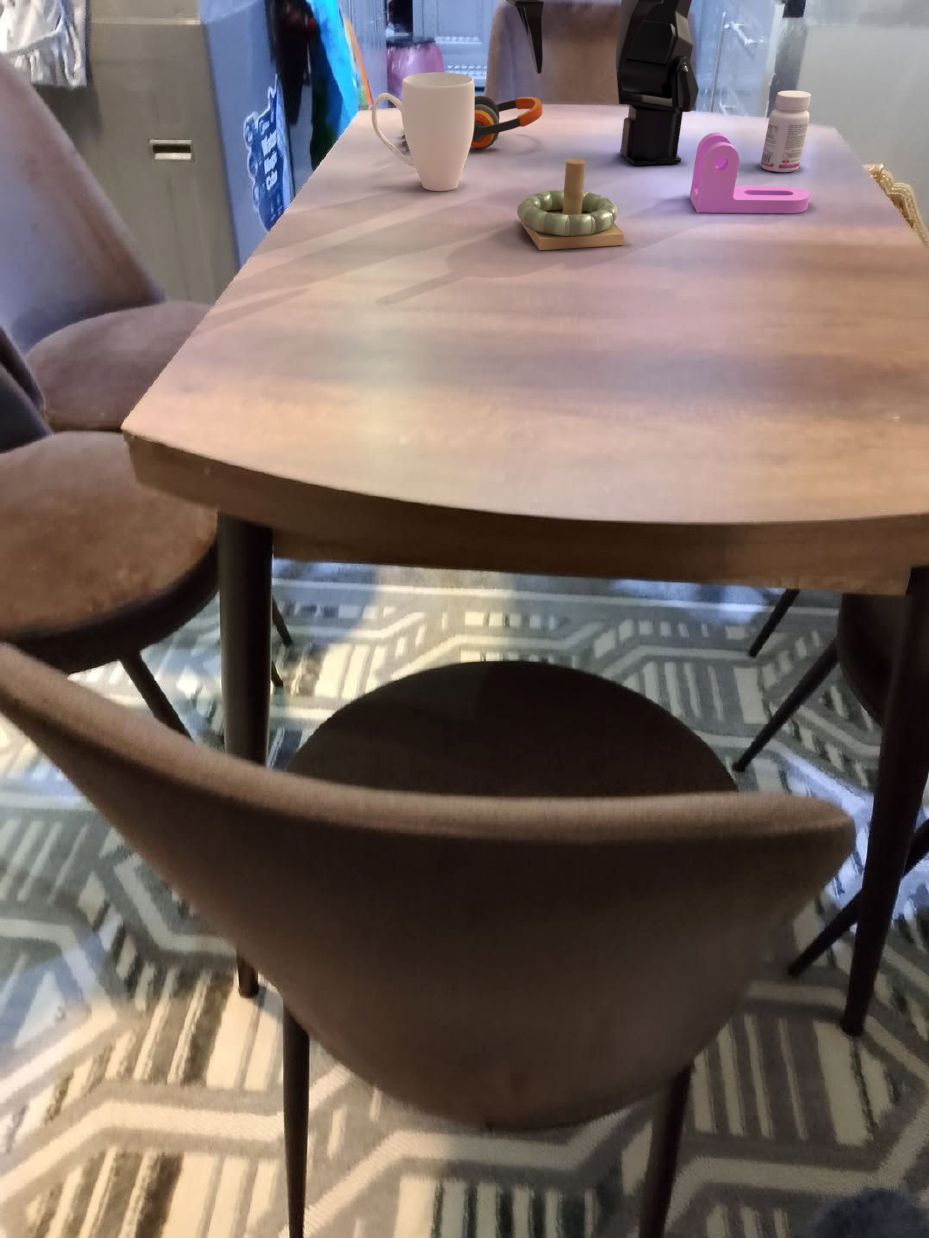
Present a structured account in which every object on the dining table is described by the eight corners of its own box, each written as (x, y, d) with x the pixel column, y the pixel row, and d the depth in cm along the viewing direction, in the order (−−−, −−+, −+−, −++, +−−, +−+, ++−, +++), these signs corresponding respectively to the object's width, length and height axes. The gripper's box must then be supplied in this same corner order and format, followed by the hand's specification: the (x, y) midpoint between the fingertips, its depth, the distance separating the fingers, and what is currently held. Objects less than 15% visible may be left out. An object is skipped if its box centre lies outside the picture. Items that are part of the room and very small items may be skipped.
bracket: (697, 212, 103) (707, 145, 99) (689, 197, 107) (699, 132, 103) (812, 213, 103) (828, 146, 98) (800, 198, 107) (815, 133, 102)
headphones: (399, 107, 131) (536, 71, 128) (409, 146, 134) (542, 112, 131) (390, 138, 118) (541, 99, 115) (401, 180, 122) (548, 143, 118)
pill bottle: (801, 165, 118) (817, 91, 112) (794, 175, 114) (811, 99, 109) (763, 161, 119) (778, 88, 114) (756, 170, 116) (771, 95, 110)
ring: (600, 204, 101) (601, 185, 100) (628, 235, 94) (630, 215, 92) (508, 210, 100) (509, 190, 99) (530, 241, 92) (531, 221, 91)
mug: (474, 176, 114) (474, 72, 106) (473, 196, 108) (474, 87, 100) (379, 176, 114) (372, 72, 107) (372, 196, 108) (365, 87, 100)
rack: (599, 218, 102) (605, 147, 97) (623, 245, 95) (631, 171, 90) (520, 222, 100) (523, 151, 96) (539, 250, 94) (543, 175, 89)
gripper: (517, -103, 84) (512, 90, 94) (710, -104, 86) (684, 83, 96) (494, -108, 92) (491, 69, 102) (670, -110, 95) (650, 64, 105)
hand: (578, 71), depth 101 cm, fingers open, 9 cm apart
